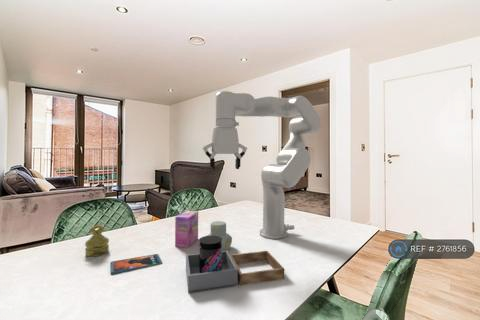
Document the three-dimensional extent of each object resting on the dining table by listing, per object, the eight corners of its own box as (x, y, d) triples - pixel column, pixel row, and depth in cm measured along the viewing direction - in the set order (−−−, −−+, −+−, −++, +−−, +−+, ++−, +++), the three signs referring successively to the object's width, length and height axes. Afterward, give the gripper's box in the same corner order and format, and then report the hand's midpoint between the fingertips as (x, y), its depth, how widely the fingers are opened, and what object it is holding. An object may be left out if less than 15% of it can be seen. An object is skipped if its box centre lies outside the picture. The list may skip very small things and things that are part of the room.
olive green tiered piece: (113, 250, 88) (113, 223, 88) (95, 258, 81) (95, 229, 81) (98, 247, 90) (98, 221, 90) (80, 255, 83) (79, 227, 83)
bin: (227, 264, 77) (227, 250, 77) (237, 285, 65) (237, 269, 64) (185, 269, 74) (185, 254, 74) (188, 293, 61) (188, 275, 61)
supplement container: (195, 279, 66) (195, 243, 66) (202, 268, 73) (202, 234, 73) (219, 281, 66) (219, 244, 65) (224, 269, 72) (224, 236, 72)
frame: (267, 259, 81) (267, 250, 81) (284, 278, 68) (284, 268, 68) (229, 263, 77) (229, 254, 77) (240, 285, 65) (240, 274, 65)
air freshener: (222, 256, 83) (222, 228, 83) (201, 253, 86) (201, 225, 86) (233, 245, 93) (233, 220, 93) (214, 242, 96) (215, 218, 96)
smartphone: (162, 262, 77) (110, 272, 70) (162, 266, 77) (110, 277, 70) (158, 252, 84) (110, 260, 77) (158, 256, 85) (110, 264, 77)
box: (188, 248, 91) (188, 217, 90) (174, 246, 92) (174, 216, 91) (198, 238, 101) (198, 211, 100) (186, 237, 102) (186, 210, 102)
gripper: (244, 126, 97) (243, 168, 97) (201, 125, 92) (201, 168, 93) (249, 124, 90) (249, 169, 90) (204, 122, 85) (204, 169, 86)
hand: (225, 168), depth 92 cm, fingers open, 9 cm apart
